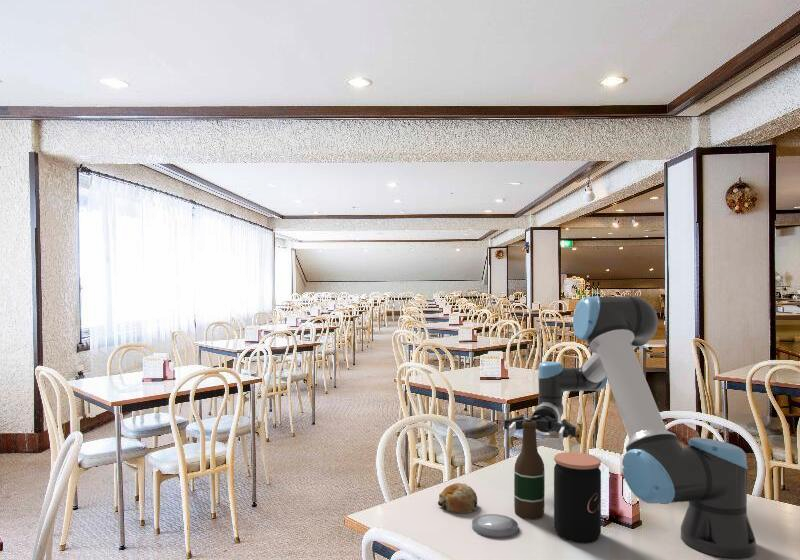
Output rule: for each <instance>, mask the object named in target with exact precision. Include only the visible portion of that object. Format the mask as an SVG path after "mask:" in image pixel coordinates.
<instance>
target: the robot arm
mask: <svg viewBox="0 0 800 560" xmlns="http://www.w3.org/2000/svg"><path fill="white" fill-rule="evenodd" d="M572 319H573V320H572V326H573V327H572V329H573V332H574V336H575V337H576V338H577V339H579V340H580V341H582V342H583V341H585V342H587V345H588V347H589V349H590V351H591V352H592V353H593V354H591V355H590V357H589V358H588V359H587V360H586V361H585V362H584V363H583V364H582V365H581V366H579V367H563V363H561V362H559V361H542V362H541V363H539V364H538V365H539V366H538V377H537V378H538V397H537V398H538V400H537V401H538V402H537V403H538V404H537V405H538V406H537V407H536V409H534V411H533V413H532V415H531V416H528V417H526V416H525V415H524V414H521V415H519V416H516V417H512V418H508V419H504V421H503V429H504V430H507V432H508V438H512V437H513V436H514V435H515V433H516V432H517V430H523V425H522V424H523V421H524V420H533V421H535V422H536V424H537V426H536V431H539V432H542V433H550V432H554V433H558V443H560V444H562V443H563V441H564V439H567V438H568V437H569V436H571V437H573V438H574V437H576V436H577V428H576V426H574V425H573V424H572V423H570V422H569V421H568V420H567V419H566V418H563V419H561V418H562V417H563V415H564V404H563V392H584V391H585V392H587V391H591V392H594V391H595V392H596V391H601V390H603V389H605V387H606V386H607V385H606V384H607V382H608V384H609V387H610V390H611V393H612V395H613V398H614V401H615V404H616V406H617V407H616V408H617V409H618V412H619V414H620V417H621V420H622V422H623V425H624V428H625V431H626V433H627V437H628V443H627V444H626V446H625V450H626V451H625V452H626V453H625V454H624V455H623V458H622V462H621V463H622V466H623V467H622V472H623V476H624V480H625V482H626V484H627V487H628V488H629V489H630V490H631V492H632V493H633V494H634V496H636V498H637V499H639V500H641V501H642V502H644V503H647V504H650V505H651V504H653V505H657V504H658V505H669V504H671V503H672V504H675V503H685V502H688V507H687V508H686V511H685V514H684V517H683V520H682V523H681V526H680V539H681V540H682V542H684V544H685V545H687V546H689V548H693V549H694V550H697V551H699V552H700V553H701V552H702V553H705V554H708V555H711V556H716V557H719V558H720V557H722V558H728V559H744V558H749V557H752V556H754V555H755V554H756V553H757V540H756V538H755V537H756V536H755V534H754V531H753V528H752V526H751V523H750V520H749V517H748V513H747V510H748V509H747V504H748V503H747V502H748V501H747V499H748V496H747V493H748V492H747V491H748V490H747V489H748V470H749V468H748V466H747V465H748V464H747V455H746V452H745V451H744V450H743V449H742V448H741V447H739V446H737V445H735V444H733V443H729V442H725V441H721V440H716V439H711V438H705V437H691V438H689V439H688V442H687V445H688V446H682V445H681V443H680V441H679V439H678V436H677V435H676V433H673V432H671V431H669V430H668V429H667V428H666V425H665V423H664V420H663V417H662V416H661V412H660V411H659V408H658V406H657V403H656V400H655V399H654V396H653V393H652V391H651V389H650V386H649V383H648V382H647V380H646V377H645V374H644V372H643V369H642V366H641V364H640V361H639V360H638V356H637V354H636V352H635V349H636V348H640V347H643V346H645V345H646V344H647V343H648V342H649V341H651V339H652V338H653V337H654V335H655V334H656V333H657V330H658V325H659V317H658V314H657V311H656V310H655V308H654V307H653V305H652V304H651V303H649V301H647V300H645V299H644V298H641V297H639V296H633V295H632V296H631V295H628V296H627V295H626V296H599V295H594V296H586V297H585V296H584V297H583V298H581V299H580V300H579V301H578V302H577V304H576V306H575V309H574V312H573V317H572Z"/></svg>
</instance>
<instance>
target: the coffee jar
mask: <svg viewBox="0 0 800 560" xmlns="http://www.w3.org/2000/svg"><path fill="white" fill-rule="evenodd" d="M553 459H554V460H553V461H554V462H555V464H554V467H553V527H554V531H555V532H556V533H557V536H559V538H561V539H563V540H565V541H567V542H571V543H576V544H591V543H594V542H596V541H597V540H598V539H599V538H600V536H601V533H602V472H601V471H602V470H601V469H600V467H601V464H602V463H601V462H602V460H601V458H599V457H597V456H596V455H592V454H589V453H584V452H575V451H572V452H571V451H568V452H560V453H557V454H555V455H554V457H553Z"/></svg>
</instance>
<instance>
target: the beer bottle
mask: <svg viewBox="0 0 800 560" xmlns="http://www.w3.org/2000/svg"><path fill="white" fill-rule="evenodd" d="M522 425H523V429H522V441H521V450H520V451H521V452H520V453H519V455H518V456H517V457H516V459H515V460H516V461H515V464H514V477H513V480H514V481H513V482H514V484H513V485H514V486H513V488H514V491H513V492H514V497H513V499H514V500H513V501H514V503H513V504H514V505H513V506H514V514H515V515H516V516H518V517H519V518H521V519H525V520H531V521H533V520H538V519H542V518H543V516H544V514H545V499H546V497H545V494H546V493H545V489H546V488H545V481H546V480H545V479H546V478H545V476H546V475H545V472H546V471H545V463H544V461H543V459H542V457H541V455H540V454H539V452H538V445H537V444H538V443H537V429H536V426H537V424H536V422H535V421H533V420H524V421H523V424H522Z"/></svg>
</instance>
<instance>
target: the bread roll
mask: <svg viewBox="0 0 800 560" xmlns="http://www.w3.org/2000/svg"><path fill="white" fill-rule="evenodd" d="M438 498H439V499H438V501H437V505H438V506H439V507H440V508H441V509H442V510H443V511H446V512H449V513H452V514H469V513H472V512H476V511H477V509H478V508H477V505H478V496H477V494H476V492H475V490H474V489H473V487H471V486H469V485H468V484H466V483H460V482H458V483H456V482H455V483H452V484H450V485H448V486H446V487H445V488H443V490H442V492H441V493H439V496H438Z"/></svg>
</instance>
